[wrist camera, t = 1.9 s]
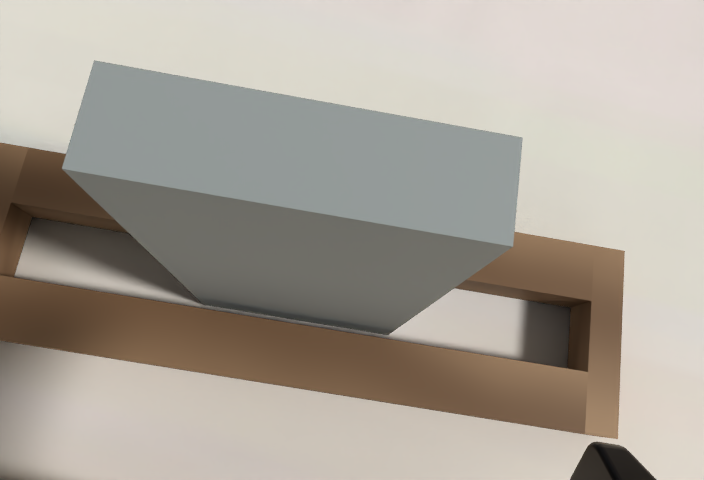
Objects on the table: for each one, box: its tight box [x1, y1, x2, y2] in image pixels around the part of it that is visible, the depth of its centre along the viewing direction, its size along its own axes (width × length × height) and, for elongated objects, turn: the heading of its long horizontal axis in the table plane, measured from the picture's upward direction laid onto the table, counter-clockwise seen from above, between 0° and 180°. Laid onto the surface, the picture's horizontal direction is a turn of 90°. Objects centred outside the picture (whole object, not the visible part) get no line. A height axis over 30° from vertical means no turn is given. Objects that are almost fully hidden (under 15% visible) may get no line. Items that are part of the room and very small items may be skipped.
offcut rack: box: [0, 143, 625, 439], centre depth 17 cm, size 14×20×3 cm
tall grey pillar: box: [62, 61, 522, 335], centre depth 14 cm, size 2×6×12 cm, turn 81°
